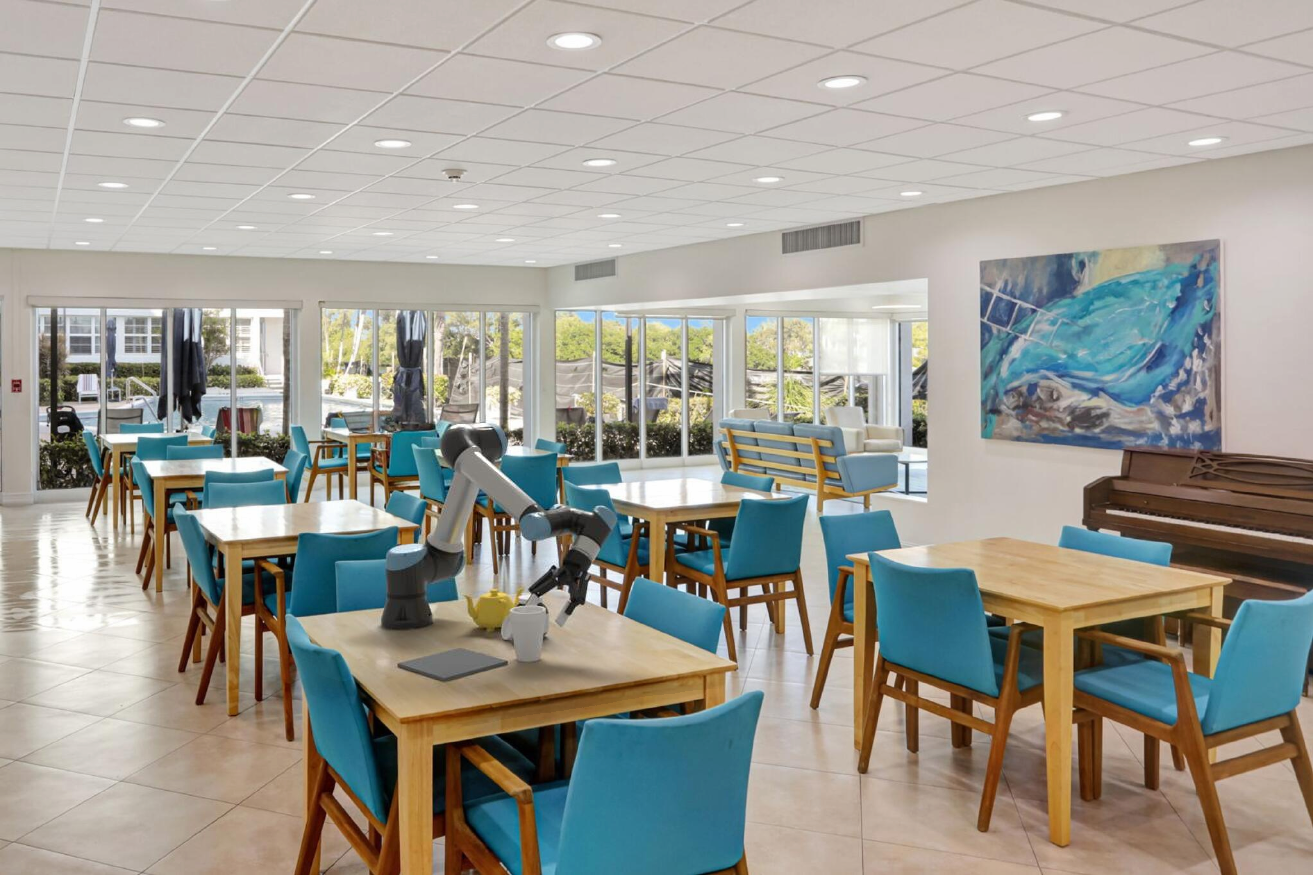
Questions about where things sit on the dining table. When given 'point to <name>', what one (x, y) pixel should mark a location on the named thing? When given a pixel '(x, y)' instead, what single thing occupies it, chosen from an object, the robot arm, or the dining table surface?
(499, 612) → the teapot
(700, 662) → the dining table surface
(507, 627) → the spread jar
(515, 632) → the foam cup
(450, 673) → the rubber mat
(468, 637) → the dining table surface
